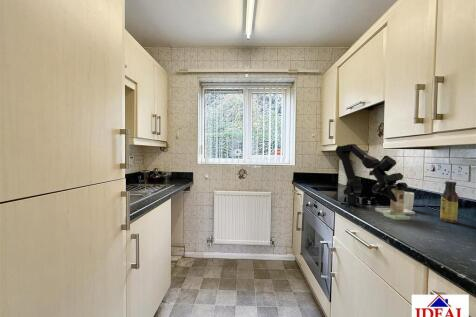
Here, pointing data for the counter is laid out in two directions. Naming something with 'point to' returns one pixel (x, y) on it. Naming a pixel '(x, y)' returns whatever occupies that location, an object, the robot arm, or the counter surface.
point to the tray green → (397, 216)
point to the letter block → (399, 205)
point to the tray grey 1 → (382, 210)
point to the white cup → (408, 200)
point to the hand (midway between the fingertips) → (399, 201)
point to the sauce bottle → (449, 203)
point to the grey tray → (408, 212)
